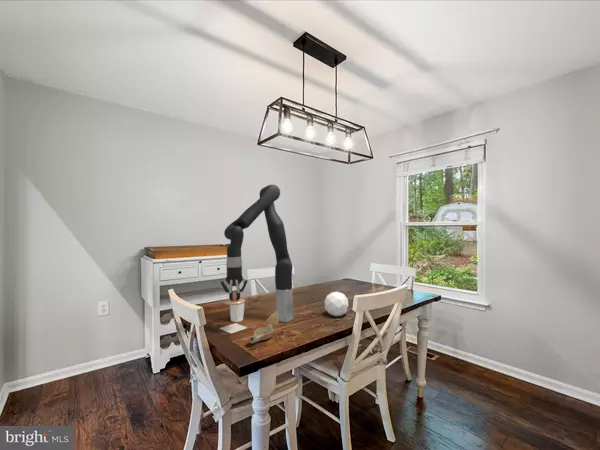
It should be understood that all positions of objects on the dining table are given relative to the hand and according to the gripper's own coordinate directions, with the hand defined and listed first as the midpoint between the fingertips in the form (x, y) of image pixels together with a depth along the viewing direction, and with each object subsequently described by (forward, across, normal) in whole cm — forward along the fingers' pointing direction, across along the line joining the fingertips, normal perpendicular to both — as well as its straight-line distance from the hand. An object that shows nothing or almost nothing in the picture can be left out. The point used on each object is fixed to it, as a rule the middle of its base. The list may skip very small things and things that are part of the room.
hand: (234, 300), depth 139 cm
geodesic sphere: (+16, -56, -18) cm, 61 cm away
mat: (+14, +1, -1) cm, 15 cm away
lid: (+1, 0, 0) cm, 1 cm away
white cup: (+15, +1, -14) cm, 20 cm away
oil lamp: (+15, -14, +12) cm, 24 cm away
